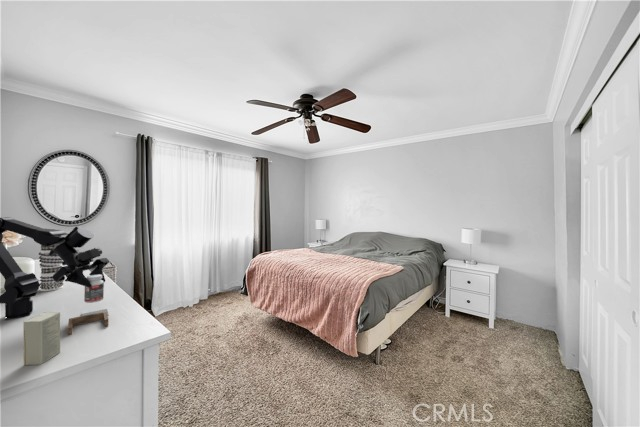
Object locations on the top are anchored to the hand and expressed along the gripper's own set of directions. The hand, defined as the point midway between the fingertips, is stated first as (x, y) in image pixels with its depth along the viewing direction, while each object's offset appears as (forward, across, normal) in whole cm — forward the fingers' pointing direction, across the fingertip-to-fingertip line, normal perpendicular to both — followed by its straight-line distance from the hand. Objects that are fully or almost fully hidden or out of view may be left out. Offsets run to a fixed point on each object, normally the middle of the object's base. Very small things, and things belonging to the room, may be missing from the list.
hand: (97, 284), depth 102 cm
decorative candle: (-27, +30, +46) cm, 61 cm away
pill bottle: (+4, 0, +6) cm, 7 cm away
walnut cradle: (+12, -9, +5) cm, 16 cm away
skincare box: (+17, -29, +1) cm, 33 cm away
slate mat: (+8, 0, +10) cm, 12 cm away
